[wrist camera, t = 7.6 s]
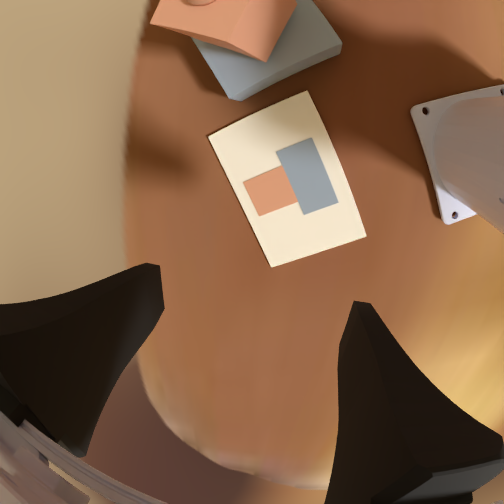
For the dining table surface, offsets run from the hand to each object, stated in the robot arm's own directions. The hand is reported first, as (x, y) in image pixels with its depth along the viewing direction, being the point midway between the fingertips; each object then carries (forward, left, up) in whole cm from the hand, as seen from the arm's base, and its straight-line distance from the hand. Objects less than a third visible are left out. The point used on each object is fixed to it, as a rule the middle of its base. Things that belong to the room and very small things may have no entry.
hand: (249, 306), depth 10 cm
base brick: (-4, -12, -10) cm, 16 cm away
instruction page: (-1, -2, -10) cm, 10 cm away
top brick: (-4, -12, -7) cm, 14 cm away
